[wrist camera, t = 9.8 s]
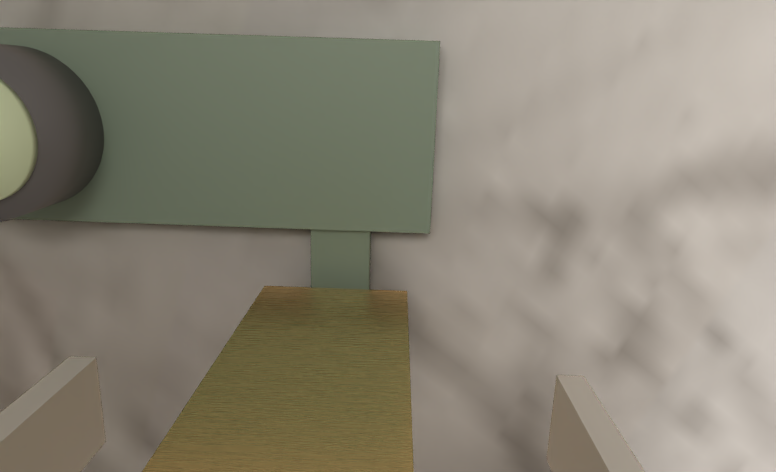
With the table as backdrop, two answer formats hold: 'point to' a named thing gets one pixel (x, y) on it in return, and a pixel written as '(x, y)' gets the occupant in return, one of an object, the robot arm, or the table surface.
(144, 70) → the base plate
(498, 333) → the table surface
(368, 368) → the knob
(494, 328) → the table surface
